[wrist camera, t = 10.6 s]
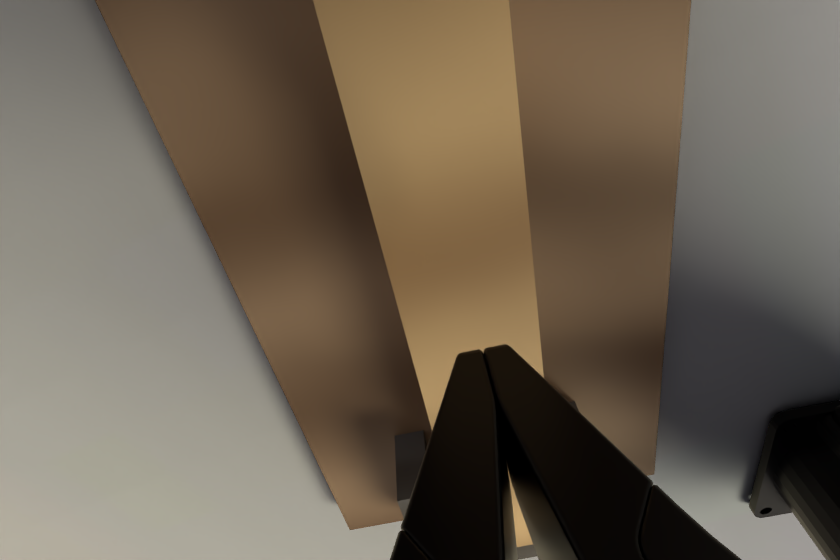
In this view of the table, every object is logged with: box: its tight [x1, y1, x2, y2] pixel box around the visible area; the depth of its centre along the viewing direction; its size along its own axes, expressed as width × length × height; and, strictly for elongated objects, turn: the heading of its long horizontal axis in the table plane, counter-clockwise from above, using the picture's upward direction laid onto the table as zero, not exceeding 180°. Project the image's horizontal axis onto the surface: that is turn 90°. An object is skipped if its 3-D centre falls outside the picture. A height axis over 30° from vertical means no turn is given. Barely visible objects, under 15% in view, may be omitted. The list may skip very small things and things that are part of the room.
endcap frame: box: [95, 0, 691, 559], centre depth 13 cm, size 26×12×4 cm, turn 11°
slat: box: [313, 0, 544, 547], centre depth 12 cm, size 22×3×3 cm, turn 11°
